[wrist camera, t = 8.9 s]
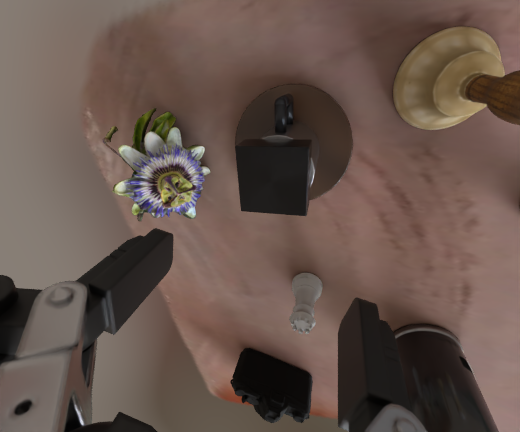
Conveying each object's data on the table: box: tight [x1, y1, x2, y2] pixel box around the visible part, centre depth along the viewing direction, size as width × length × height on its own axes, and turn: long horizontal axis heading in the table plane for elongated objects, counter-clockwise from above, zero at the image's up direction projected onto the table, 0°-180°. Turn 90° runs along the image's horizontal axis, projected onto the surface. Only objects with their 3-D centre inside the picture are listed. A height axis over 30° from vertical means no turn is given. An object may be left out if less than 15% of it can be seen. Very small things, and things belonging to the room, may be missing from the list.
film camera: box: [231, 348, 312, 423], centre depth 48 cm, size 15×10×9 cm, turn 73°
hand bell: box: [393, 27, 520, 130], centre depth 17 cm, size 8×8×16 cm
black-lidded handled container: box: [235, 94, 319, 216], centre depth 24 cm, size 9×6×10 cm
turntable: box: [235, 84, 353, 200], centre depth 29 cm, size 13×13×1 cm
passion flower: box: [103, 108, 210, 222], centre depth 31 cm, size 11×11×12 cm
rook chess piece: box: [289, 273, 323, 334], centre depth 35 cm, size 4×4×8 cm
